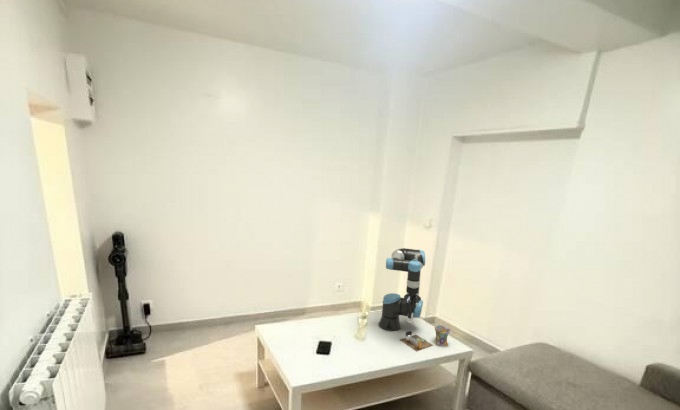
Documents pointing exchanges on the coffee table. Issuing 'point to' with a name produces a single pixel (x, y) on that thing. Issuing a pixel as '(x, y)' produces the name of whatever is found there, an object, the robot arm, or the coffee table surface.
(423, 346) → the brown picture tile
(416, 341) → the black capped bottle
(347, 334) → the coffee table surface
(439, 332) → the mug
